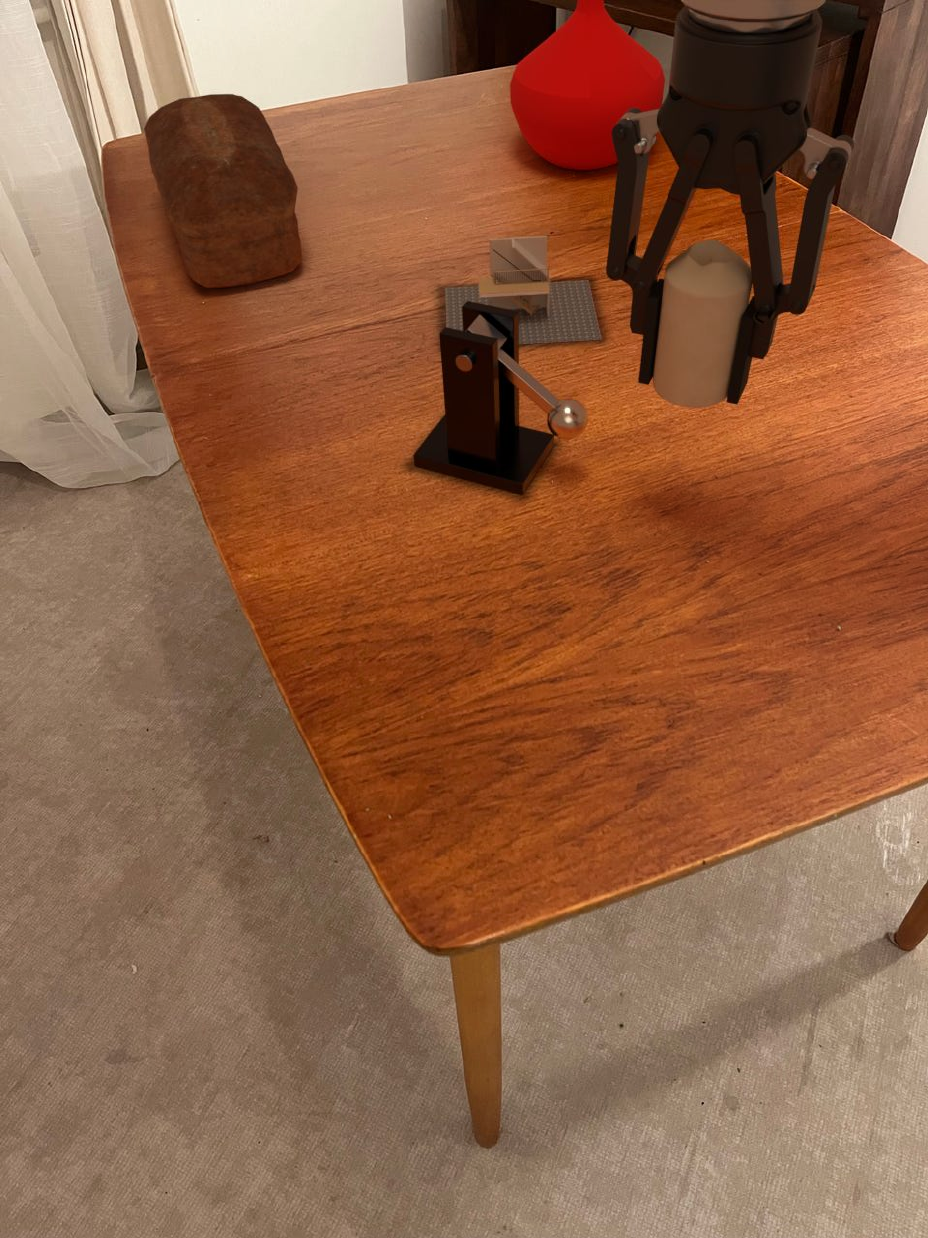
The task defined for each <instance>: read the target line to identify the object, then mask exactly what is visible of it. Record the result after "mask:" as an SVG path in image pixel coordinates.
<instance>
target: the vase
mask: <svg viewBox="0 0 928 1238" xmlns="http://www.w3.org/2000/svg"><path fill="white" fill-rule="evenodd" d="M665 84H666V78H665V73H664V68H663V66H662V64H661V62H660V61H659V59H658V58H656V57H655V56H654V55H653V54H652V53H651V52H650V51H649V50H647V49H646V48H645V47H643V46H642V45H641V44H640V43H639V42H638V41H637V40H635V39H634V38H633V37H632V36H631V35H630V34H629V33H627V31H625V30H624V28H622V27H621V25H619V24H618V23H617V22H616V21H615V20H614V19H613V18H612V17H611V16H610V14H609V13H608V11H607V9H606V8H605V0H577V3H576V7H575V10H574V11H573V13H572V14H571V15H570V16H569V18H568V19H567V20H566V21H565V22H564V23H563V24H562V25H561V26H560V27H559V28H557V30H555V31H554V32H553V33H552V34H551V35H550V36H549V37H547V39H545V40H544V41H543V42H542V43H540V44H539V45H538V46H537V47H536V48H534V49H533V50H532V51H530V53H528V54H527V55H526V56H525V57H523V59H522V60H520V61H519V62H518V63H516V65H515V68H514V71H513V74H512V77H511V80H510V83H509V93H510V95H509V97H510V105H511V106H510V107H511V110H512V112H513V115H514V118H515V120H516V122H517V125H518V127H519V130H520V132H521V135H522V137H523V138H524V139H525V141H526V142H527V143H528V144H529V146H530V147H531V148H532V150H533V151H535V152H536V153H537V155H538V156H540V157H541V158H543V159H544V160H546V161H547V162H548V163H550V164H552V165H553V166H555V167H559V168H562V169H568V170H574V171H593V170H599V169H603V168H608V167H610V166H613V165H616V164H618V162H617V158H616V153H615V149H614V144H613V139H612V129H613V127H614V126H615V125H616V124H617V123H618V121H619V120H620V119H621V118H622V116H623V115H624V114H625V113H626V112H627V111H628V110H629V109H631V108H638V109H640V110H641V111H642V112H647V111H652V110H656V109H660V107H661V105H662V104H663V102H664V101H663V100H664V94H665V86H666V85H665Z"/></svg>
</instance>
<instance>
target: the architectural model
mask: <svg viewBox="0 0 928 1238" xmlns="http://www.w3.org/2000/svg"><path fill="white" fill-rule="evenodd" d="M547 259H548V236H547V235H536V236H521V237H503V238H501V237H500V238H490V239H489V261H490V262H489V263H490V276H483V277H482V276H481V277H480V276H479V277H478V278H477V282H478V285H475V286H455V287H445V288H444V296H445V297H444V299H445V300H444V301H445V302H444V303H445V327H447V328H452V329H456V330H461V331H463V317H462V306H463V305H464V304H465V303H466V302H467V301H471V302H475V303H480V304H485V305H490V306H495V307H500V308H505V309H510V310H514V311H518V312H519V345H531V344H548V343H567V342H568V343H569V342H585V341H587V342H588V341H603V338H602V334H601V331H600V326H599V322H598V317H597V311H596V308H595V304H594V299H593V294H592V290H591V285H590V281H589V279H581V280H579V279H578V280H565V281H551V275H550V267H548V266H547V265H548V263H547Z"/></svg>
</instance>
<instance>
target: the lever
mask: <svg viewBox="0 0 928 1238" xmlns="http://www.w3.org/2000/svg"><path fill="white" fill-rule="evenodd" d="M466 332H470V333H475V334H480V335H484V336H489V337H493V338H497V339H498V371H499V372H500V373H501V374H502V375H503V376H504V377H506V378H507V379H508V380H509V381H510V382H511V383H512V384H514V385H515V386H516V387H517V388H518V389H519V392H521V393H522V394H523V395H524V396H526V397H527V398H528V399H529V400H530V401H532V402H533V403H534V404H535V405H536V406H537V407H539V408H540V409H541V410H542V411H543V412H544V413H545V414H546V424H547V427H548V430H549V431H550V434H553V435H554V437H556V438H558V439H560V440H562V441H569V440H570V441H572V440H574V439H576V438H578V437H580V436H581V435H582V434H583V433H584V432H585V430H586V428H587V425H588V420H589V417H588V412H587V409H586V408H585V406H584V405H583V404H582V403H581V402H580V401H578V400H576V399H574V398H562V399H559V398H558V397H556V396H555V395H554V394H553V393H552V392H551V391H550V390H549V389H547V388H546V387H545V386H544V385H543V384H542V383H541V382H540V381H539V380H538V379H536V378H535V377H534V376H533V375H532V374H530V372H529V371H528V370H526V369H525V368H523V367H522V365H520V363H519V364H518V363H517V362H516V361H514V360H513V359H512V358H511V357H510V356H509V355H508V354H506V353H505V352H504V351H503V350H502V349H501V348H500V347H501V346H502V345H503V344H504V342H505V341H506V340H507V338H506V337H505V336H504V335H503V334H502V333H501V332H499V331H498V330H497V329H496V328H495V327H494V326H493V325H491V324H490V323H489V322H488V321H487V320H486V319H485V318H484V317H482V316H481V315H479V316H478V317H477V318H476V319H475V320H474V322H473V323H472V324H471V325H470V327H469V328H468V329H467V330H466Z"/></svg>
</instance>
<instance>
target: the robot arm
mask: <svg viewBox="0 0 928 1238" xmlns="http://www.w3.org/2000/svg"><path fill="white" fill-rule="evenodd" d="M680 1H681V2H682V4H683V5H684V6H683V7H682V8H681V10H680V11H679V12H678V13H677V15H676V17H675V23H674V31H673V32H674V33H673V43H672V51H671V62H670V70H669V71H670V72H669V81H668V90H667V93H666V97H665V98H664V101H663V102H662V105H661V107H660V109H656V110H652V111H647V112H642V111H641V110H640V109H638V108H631V109H629V110H628V111H627V112H626V113H625V114H624V115H623V116H622V118H621V119H620V120H619V121H618V123H617V124H616V125H615V126H614V127H613V129H612V139H613V144H614V149H615V153H616V158H617V170H616V178H615V188H614V198H613V205H612V213H611V222H610V233H609V240H608V249H607V257H606V267H605V273H606V276H607V278H608V279H609V280H612V281H614V282H617V281H622V282H623V283H625V284H626V285H628V286H629V287H630V289H631V291H632V297H631V307H630V308H631V309H630V320H629V328H630V331H631V334H635V335H640V336H642V343H641V351H640V359H639V360H640V362H639V370H638V380H637V383H638V384H642V385H645V386H649V385H650V383H651V382H652V381H653V372H654V363H655V354H656V346H657V338H658V329H659V321H660V312H661V304H662V296H663V287H664V279H665V278H659V275H660V273H661V272H662V270H663V269H664V264H665V262H666V261H667V258H668V256H669V253H670V251H671V248H672V246H673V244H674V242H675V239H676V238H677V236H678V233H679V231H680V228H681V226H682V224H683V222H684V219H685V218H686V216H687V212H688V210H689V208H690V206H691V203H692V201H693V199H694V197H695V194H696V192H697V190H698V189H699V190H714V189H720V190H723V191H724V192H726V193H729V194H731V195H738V196H739V202H740V208H741V209H740V210H741V213H742V214H743V216H744V222H745V228H746V229H745V230H746V238H747V239H746V240H747V245H748V254H749V255H748V256H749V263H750V264H749V266H750V267H751V273H752V282H753V284H752V290H753V295H752V297H751V298H750V300H749V305H748V307H747V309H746V311H745V313H744V315H743V317H742V321H741V327H740V332H739V337H738V343H737V348H736V353H735V359H734V364H733V369H732V375H731V380H730V385H729V391H728V396H727V398H726V401H725V403H727V404H732V405H736V406H738V405H739V402H740V399H741V397H742V396H743V393H744V391H745V389H746V387H747V384H748V381H749V377H750V371H751V367H752V361H753V358H754V359H760V360H764V359H765V357H766V356H767V355H768V354H769V351H770V348H771V347H772V345H773V342H774V337H775V332H776V328H777V323H778V320H779V319H778V318H779V316H780V315H781V314H786V313H790V314H792V315H794V316H799V315H802V314H804V313H805V312H806V310H807V308H808V307H809V304H810V301H811V299H812V297H813V295H814V292H815V290H816V285H817V280H818V275H819V270H820V265H821V262H822V261H821V260H822V255H823V250H824V246H825V241H826V240H825V239H826V235H827V231H828V224H829V220H830V214H831V209H832V204H833V200H834V199H833V198H834V194H835V188H836V184H837V182H838V180H839V179H840V177H841V175H842V174H843V172H844V170H845V169H846V166H847V164H848V162H849V160H850V158H851V156H852V153H853V152H854V149H855V141H854V139H853V138H852V137H851V136H850V135H847V134H841V135H839V136H836V138H834V137H831V136H829V135H827V134H825V133H823V132H821V131H820V130H818V129H815V128H813V127H812V118H811V115H810V112H809V108H808V96H809V91H810V86H811V80H812V76H813V71H814V66H815V61H816V57H817V51H818V47H819V42H820V36H821V32H822V27H823V19H822V16H821V15H820V12H819V10H818V9H819V8H820V7H822V6H823V5H824V4H825V3H826V1H827V0H680ZM658 133H660V135H661V137H662V139H663V141H664V142H665V145H666V146H667V148H668V150H669V152H670V154H671V156H672V158H673V159H674V162H675V164H676V165H677V167H678V169H677V171H676V173H675V176H674V178H673V181H672V184H671V186H670V189H669V190H668V194H667V196H666V197H667V198H666V200H665V203H664V205H663V207H662V210H661V213H660V214H659V217H658V219H657V222H656V224H655V226H654V229H653V231H652V233H651V236H650V239H649V241H648V244H647V246H646V249H645V250H644V253H643V256H642V257H640V256H638V255H637V247H638V239H639V233H640V226H641V220H642V218H641V217H642V211H643V203H644V197H645V196H644V195H645V188H646V182H647V174H648V167H649V158H650V151H651V149H652V148H653V147H654V145H656V141H657V134H658ZM797 152H800V153H802V155H803V157H804V165H803V173H804V175H805V176H806V177H807V178H808V179H810V180H811V183H810V185H808V186H809V187H808V189H807V192H806V194H805V195H806V196H805V200H804V203H803V209H802V214H801V215H802V217H801V222H800V227H799V232H798V239H797V245H796V252H795V256H794V261H793V268H792V273H791V277H790V278H791V279H790V283H784V274H783V262H782V252H781V243H780V240H781V239H780V231H779V221H778V210H777V201H776V191H777V174H776V173H777V172H778V171H779V170H780V169H781V168H782V167H783V166H784V165H785V164H786V163H787V162H789V160H790V159H792V158H793V156H795V154H796V153H797Z"/></svg>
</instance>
